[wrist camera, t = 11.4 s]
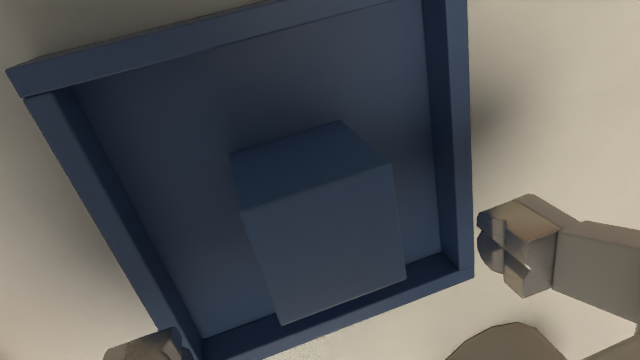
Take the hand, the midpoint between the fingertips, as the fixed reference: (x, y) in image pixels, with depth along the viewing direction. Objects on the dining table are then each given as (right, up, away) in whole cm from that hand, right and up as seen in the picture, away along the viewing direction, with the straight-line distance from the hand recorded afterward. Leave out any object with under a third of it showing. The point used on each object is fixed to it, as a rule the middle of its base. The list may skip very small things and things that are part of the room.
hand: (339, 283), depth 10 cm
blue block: (-1, +2, +6) cm, 6 cm away
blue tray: (-2, +3, +6) cm, 7 cm away
